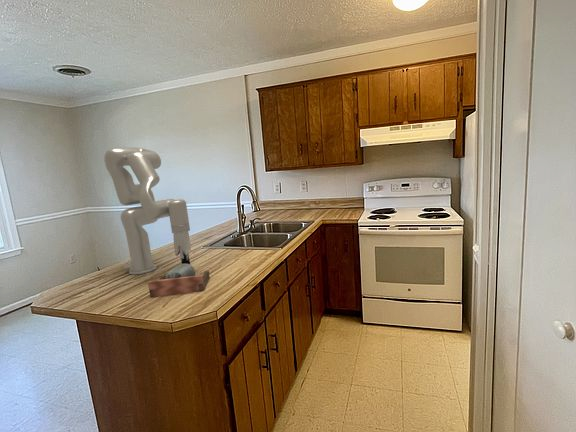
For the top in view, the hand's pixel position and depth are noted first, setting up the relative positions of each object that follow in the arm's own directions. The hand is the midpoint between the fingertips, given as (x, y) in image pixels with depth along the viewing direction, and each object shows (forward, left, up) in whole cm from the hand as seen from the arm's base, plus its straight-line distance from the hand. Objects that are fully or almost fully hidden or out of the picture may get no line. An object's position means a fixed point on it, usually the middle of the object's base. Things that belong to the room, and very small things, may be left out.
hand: (186, 268), depth 139 cm
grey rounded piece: (0, -8, -4) cm, 9 cm away
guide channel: (0, -11, -4) cm, 12 cm away
